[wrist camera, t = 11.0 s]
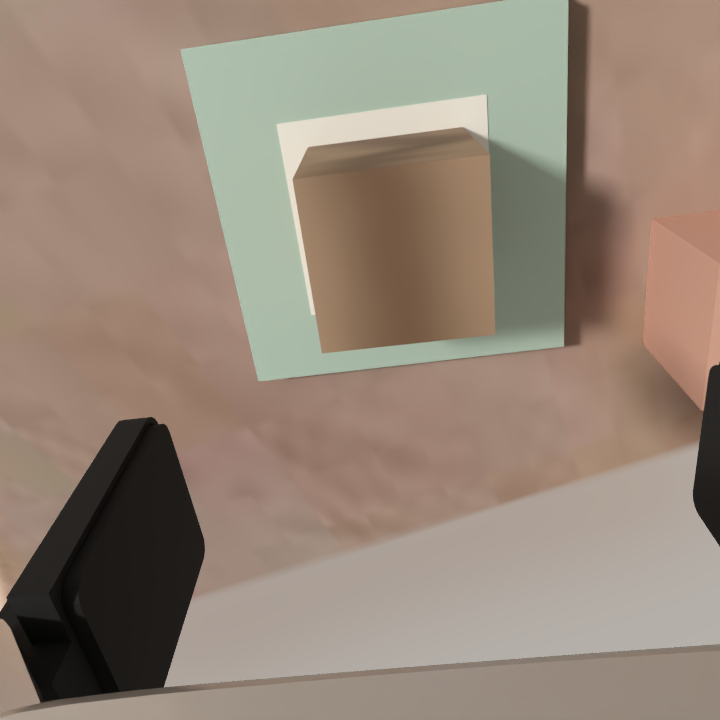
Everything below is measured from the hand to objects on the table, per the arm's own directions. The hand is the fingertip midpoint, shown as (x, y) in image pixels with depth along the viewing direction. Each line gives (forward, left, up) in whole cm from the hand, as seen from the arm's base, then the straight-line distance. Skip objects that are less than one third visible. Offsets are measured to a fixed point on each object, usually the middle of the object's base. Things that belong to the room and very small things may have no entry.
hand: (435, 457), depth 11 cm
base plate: (0, 0, -18) cm, 18 cm away
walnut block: (0, 0, -17) cm, 17 cm away
